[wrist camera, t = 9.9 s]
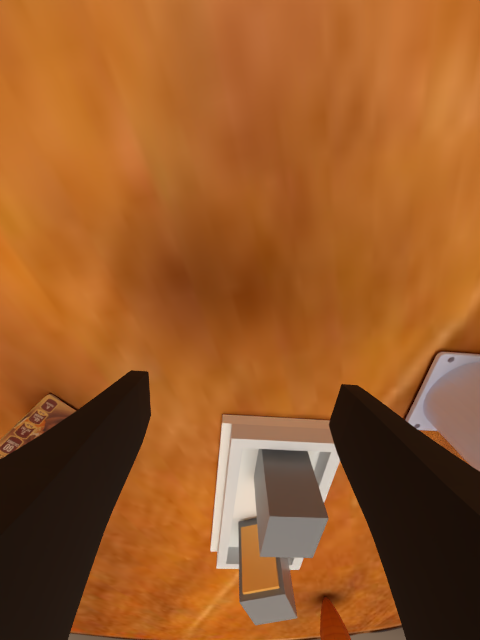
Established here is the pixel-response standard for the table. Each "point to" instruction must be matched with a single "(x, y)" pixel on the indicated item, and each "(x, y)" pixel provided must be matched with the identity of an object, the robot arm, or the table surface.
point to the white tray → (239, 468)
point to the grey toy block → (287, 504)
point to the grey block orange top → (263, 580)
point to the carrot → (332, 623)
